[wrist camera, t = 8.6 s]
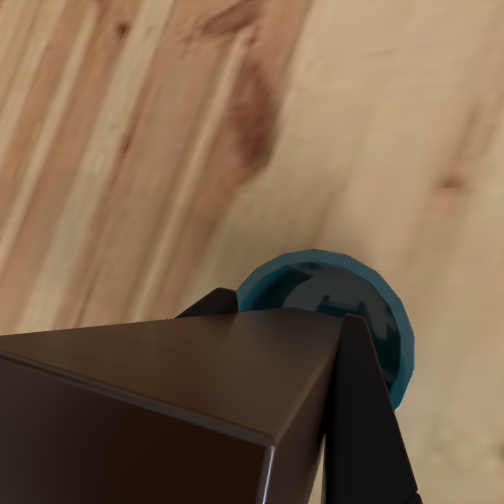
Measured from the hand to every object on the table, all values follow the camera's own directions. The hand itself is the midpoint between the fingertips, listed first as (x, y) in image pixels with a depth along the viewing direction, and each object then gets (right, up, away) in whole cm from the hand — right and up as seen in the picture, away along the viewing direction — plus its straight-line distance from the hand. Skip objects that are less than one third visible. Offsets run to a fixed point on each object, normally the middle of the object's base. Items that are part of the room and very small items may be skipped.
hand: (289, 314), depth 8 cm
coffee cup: (+3, -3, +11) cm, 12 cm away
